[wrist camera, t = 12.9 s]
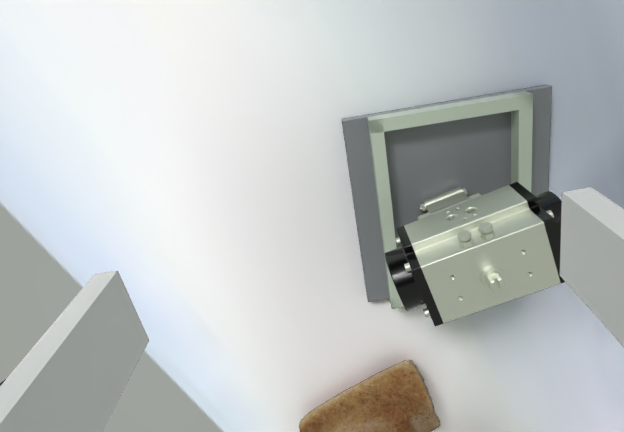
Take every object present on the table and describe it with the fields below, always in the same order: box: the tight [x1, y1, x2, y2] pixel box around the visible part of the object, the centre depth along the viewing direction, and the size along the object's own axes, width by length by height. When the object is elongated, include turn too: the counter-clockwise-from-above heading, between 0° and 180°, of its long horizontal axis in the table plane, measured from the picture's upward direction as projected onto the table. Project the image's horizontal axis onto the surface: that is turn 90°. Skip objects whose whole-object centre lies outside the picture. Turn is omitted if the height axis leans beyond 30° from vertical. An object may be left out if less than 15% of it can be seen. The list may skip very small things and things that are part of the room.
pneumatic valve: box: [384, 182, 565, 326], centre depth 33 cm, size 6×12×12 cm, turn 114°
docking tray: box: [342, 85, 552, 309], centre depth 38 cm, size 17×16×2 cm
